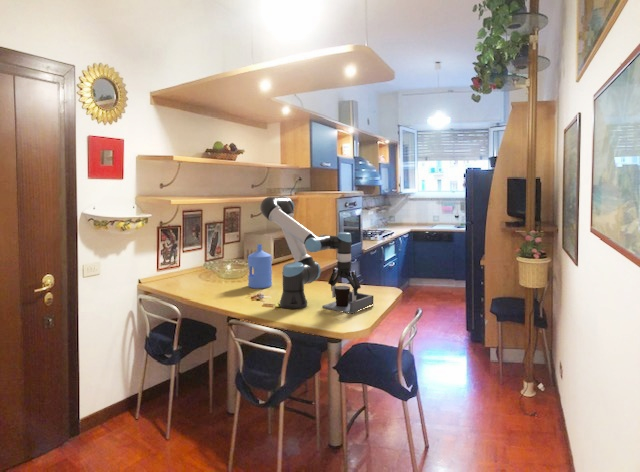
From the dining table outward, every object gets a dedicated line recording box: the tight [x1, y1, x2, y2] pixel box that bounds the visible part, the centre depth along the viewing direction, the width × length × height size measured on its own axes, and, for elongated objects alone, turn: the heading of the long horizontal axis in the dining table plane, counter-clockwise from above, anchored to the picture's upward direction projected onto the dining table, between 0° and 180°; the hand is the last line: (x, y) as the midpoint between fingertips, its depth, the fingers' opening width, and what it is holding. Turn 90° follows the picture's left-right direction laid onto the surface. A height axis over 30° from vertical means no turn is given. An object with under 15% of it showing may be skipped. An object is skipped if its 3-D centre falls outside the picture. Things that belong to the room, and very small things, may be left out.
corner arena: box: [321, 290, 374, 314], centre depth 234 cm, size 20×20×6 cm
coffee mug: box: [334, 285, 351, 307], centre depth 234 cm, size 12×9×10 cm
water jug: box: [247, 244, 273, 290], centre depth 283 cm, size 16×16×28 cm
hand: (344, 299), depth 234 cm, fingers open, 13 cm apart
